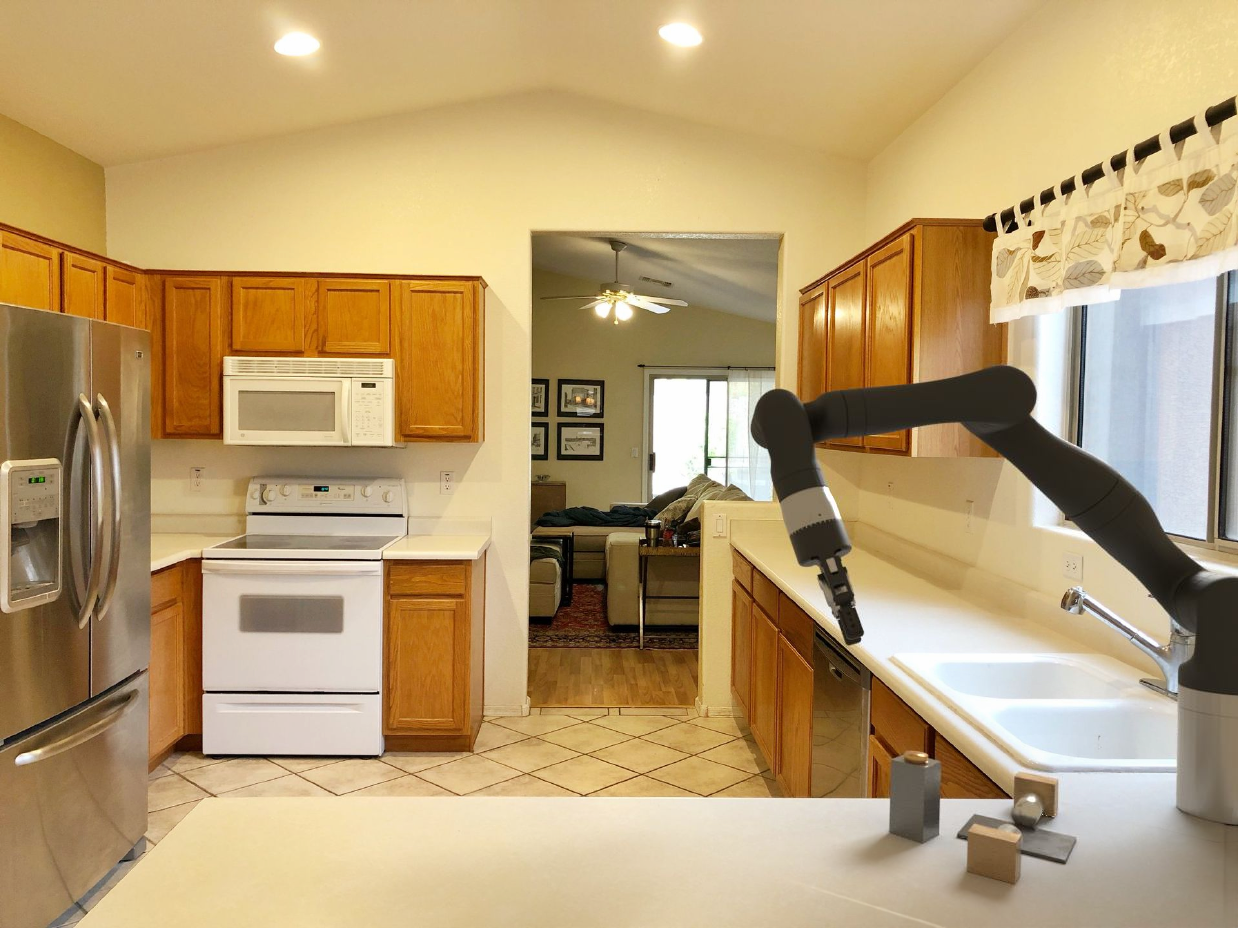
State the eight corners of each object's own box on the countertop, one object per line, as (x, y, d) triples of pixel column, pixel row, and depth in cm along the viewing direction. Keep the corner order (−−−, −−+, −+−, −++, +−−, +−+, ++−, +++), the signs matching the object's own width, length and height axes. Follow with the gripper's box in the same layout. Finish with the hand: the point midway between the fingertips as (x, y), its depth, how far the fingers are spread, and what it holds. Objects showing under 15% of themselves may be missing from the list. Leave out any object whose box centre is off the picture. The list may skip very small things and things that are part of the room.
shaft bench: (991, 797, 122) (991, 765, 122) (1086, 818, 115) (1087, 784, 115) (934, 862, 98) (935, 823, 99) (1050, 893, 92) (1051, 851, 92)
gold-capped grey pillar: (889, 832, 107) (891, 752, 108) (905, 824, 110) (907, 746, 111) (922, 843, 104) (925, 761, 104) (939, 834, 107) (941, 754, 108)
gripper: (842, 505, 112) (887, 627, 106) (840, 529, 125) (880, 638, 120) (786, 523, 113) (828, 644, 107) (790, 544, 126) (827, 653, 121)
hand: (855, 640), depth 114 cm, fingers open, 8 cm apart
